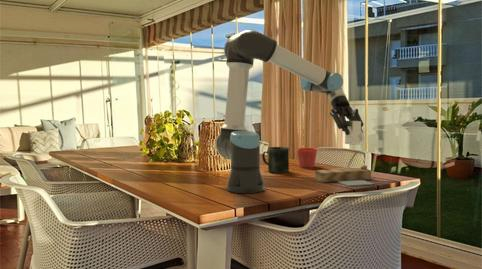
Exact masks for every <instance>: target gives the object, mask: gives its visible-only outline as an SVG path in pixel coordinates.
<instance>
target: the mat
mask: <svg viewBox="0 0 482 269" xmlns="http://www.w3.org/2000/svg"><path fill="white" fill-rule="evenodd" d="M337 183H338V184H340V185H343V186H345V187H362V186H363V185H365V186H374V185H373V184H374V183H373V182H371V181H367V180H365V179H363V180H348V181H337Z"/></svg>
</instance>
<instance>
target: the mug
mask: <svg viewBox="0 0 482 269" xmlns="http://www.w3.org/2000/svg"><path fill="white" fill-rule="evenodd" d="M266 149H267V150H266V151H263V153H262V154H261V157H262V161H263V163H264V164H265V165H267V167H268V172H269V173H273V174H274V173H276V174H279V173H281V174H284V173H288V172H289V171H290V170H289V168H290V163H289V162H290V153H289V152H290V151H289V150H290V147H288V146H287V147H286V146H270V147H267V148H266ZM265 154H268V156H267V159H268V161H267V160H266V157H265V156H266V155H265Z"/></svg>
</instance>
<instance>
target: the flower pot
mask: <svg viewBox="0 0 482 269" xmlns="http://www.w3.org/2000/svg"><path fill="white" fill-rule="evenodd" d="M317 152H318V150H317V148H314V147H313V148H312V147H299V148H296V153H297V159H298V163H299V164H298V165H299V167H300V168H314V167H315V165H316V157H317Z"/></svg>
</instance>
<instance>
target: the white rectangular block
mask: <svg viewBox="0 0 482 269" xmlns="http://www.w3.org/2000/svg"><path fill="white" fill-rule="evenodd" d="M346 123H347V127H348V126H349V127H350V129H351V131H352V133H353V135H354V137H355V138H354V140H353V142H350V140H349V137H348V135H346V134H345V133H344V144H346V145H351V146H355V145H356V146H357V145H361V143H362V142H361V129H362V128H361V121H350V120H346Z"/></svg>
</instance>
